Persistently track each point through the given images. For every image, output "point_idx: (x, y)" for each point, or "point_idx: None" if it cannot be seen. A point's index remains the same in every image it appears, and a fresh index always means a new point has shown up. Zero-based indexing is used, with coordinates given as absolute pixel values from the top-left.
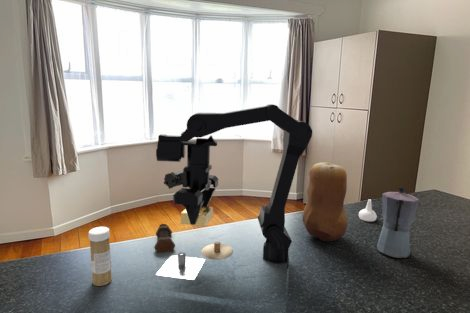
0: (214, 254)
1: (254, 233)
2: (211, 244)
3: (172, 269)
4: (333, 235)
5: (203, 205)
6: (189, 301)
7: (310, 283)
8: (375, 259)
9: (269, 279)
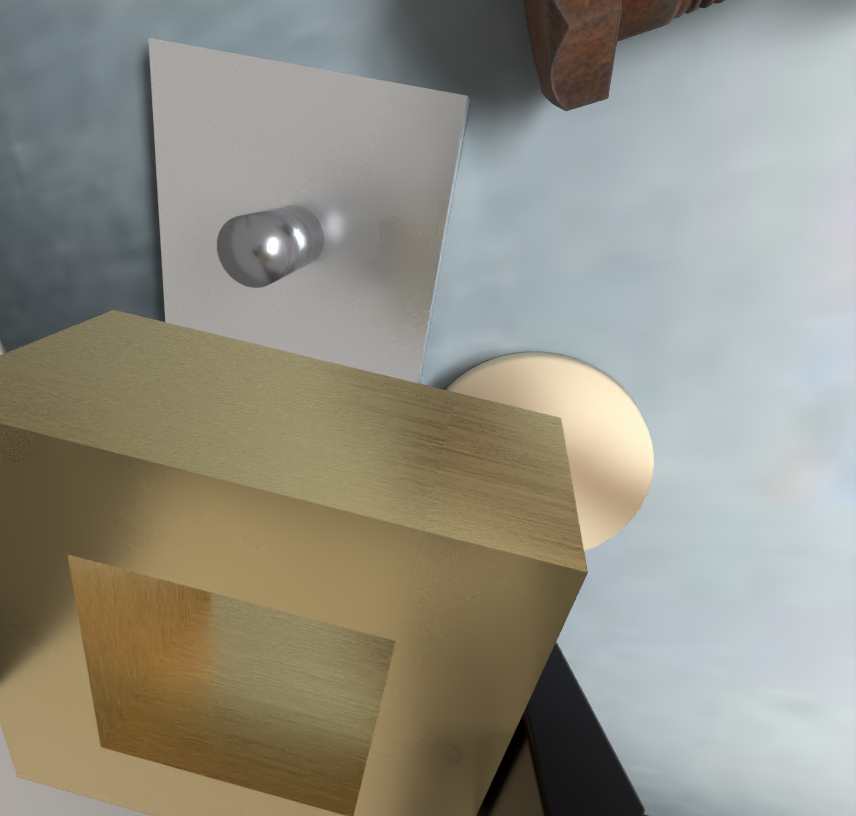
0: None
1: (830, 689)
2: (645, 429)
3: (247, 167)
4: None
5: (494, 806)
6: (39, 327)
7: None
8: None
9: None
